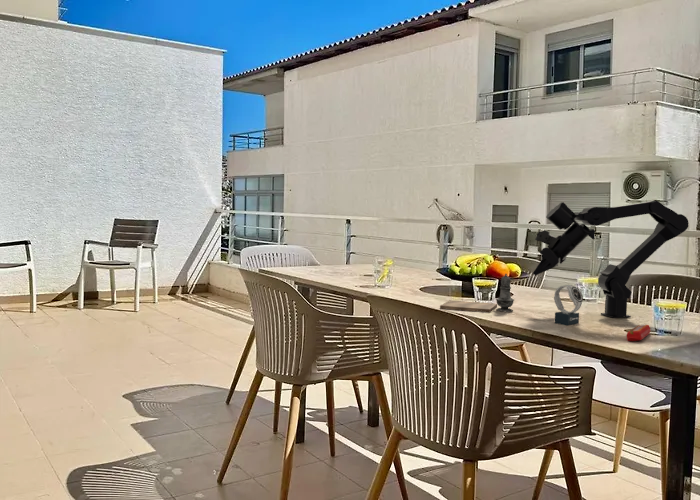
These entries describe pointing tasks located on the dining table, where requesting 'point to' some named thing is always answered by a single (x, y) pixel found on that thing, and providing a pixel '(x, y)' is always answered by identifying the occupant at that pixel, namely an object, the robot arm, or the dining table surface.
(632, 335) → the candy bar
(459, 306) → the walnut board
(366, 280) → the dining table surface
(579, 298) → the watch
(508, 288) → the dark grey tall piece
